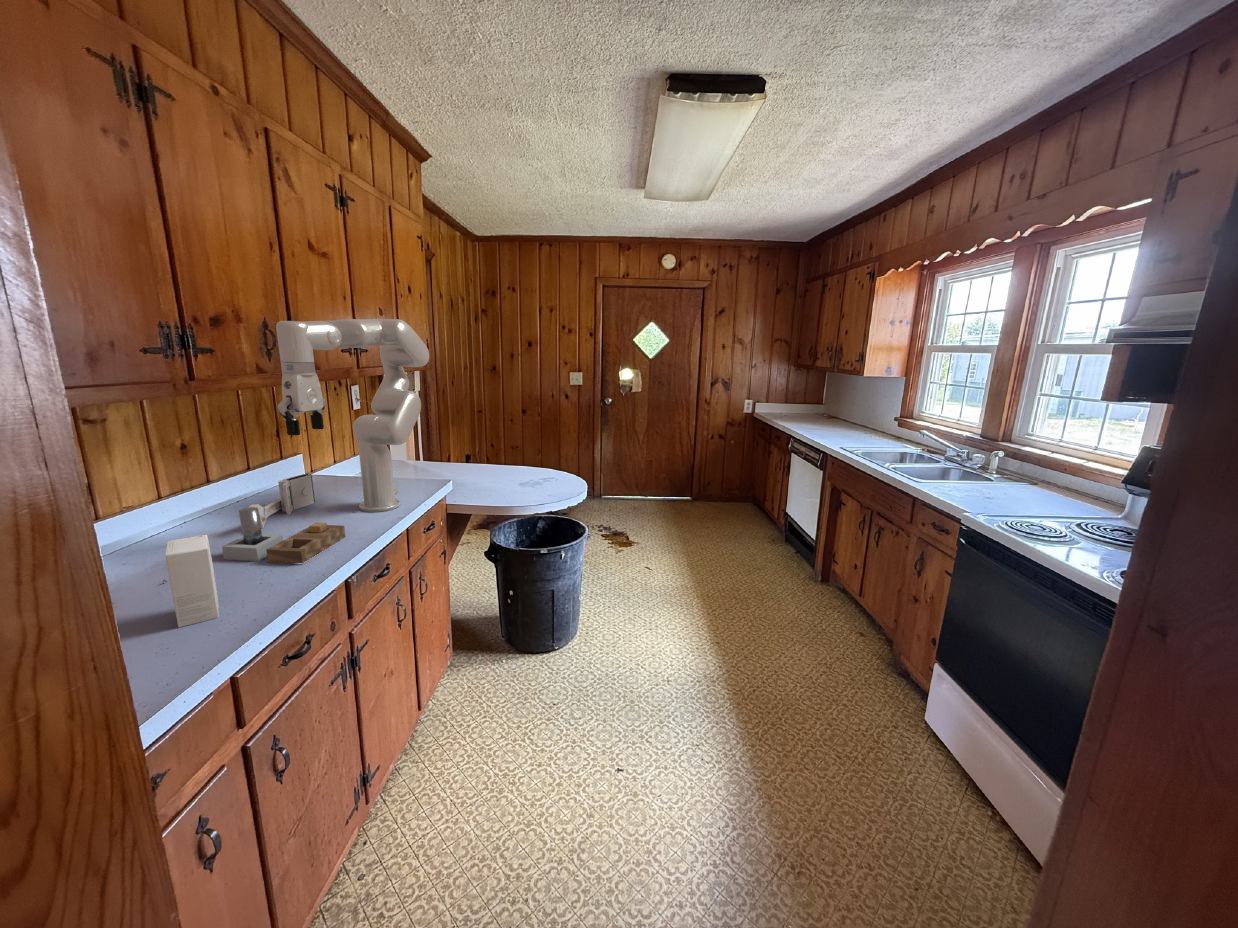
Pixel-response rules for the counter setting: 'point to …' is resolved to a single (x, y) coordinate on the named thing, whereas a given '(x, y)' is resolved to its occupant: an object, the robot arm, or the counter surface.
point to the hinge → (296, 492)
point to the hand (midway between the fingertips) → (306, 431)
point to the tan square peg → (318, 527)
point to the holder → (250, 548)
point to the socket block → (304, 545)
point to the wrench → (267, 510)
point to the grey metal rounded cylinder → (251, 526)
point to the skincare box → (192, 580)
